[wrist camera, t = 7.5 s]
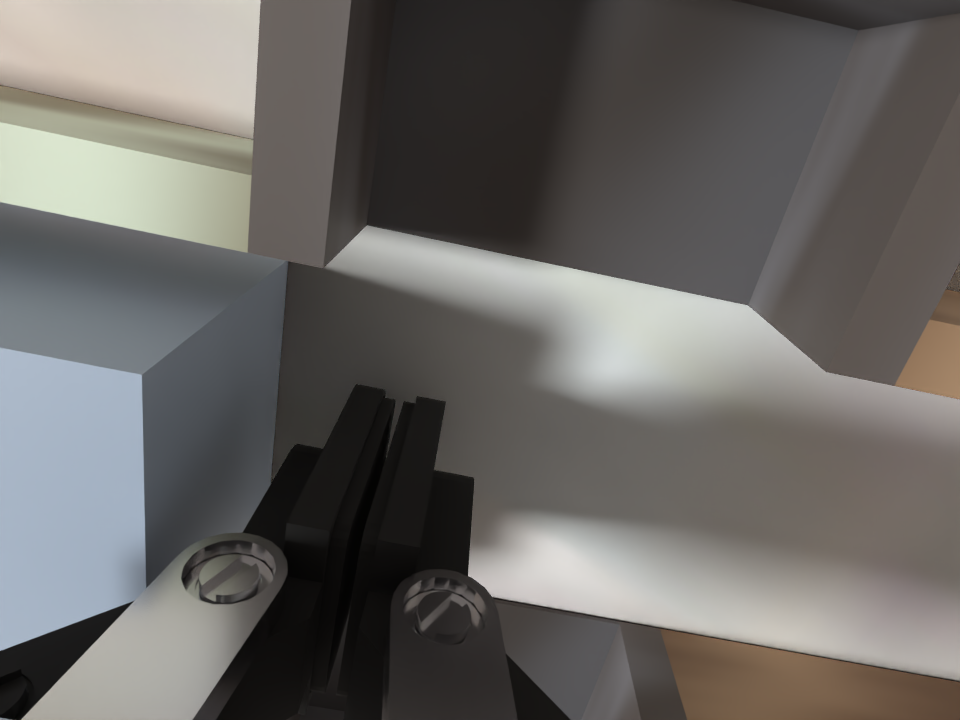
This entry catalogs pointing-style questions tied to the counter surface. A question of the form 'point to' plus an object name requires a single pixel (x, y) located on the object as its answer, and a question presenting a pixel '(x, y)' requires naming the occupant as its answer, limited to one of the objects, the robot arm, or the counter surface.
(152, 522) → the block
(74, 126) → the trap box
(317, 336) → the counter surface
